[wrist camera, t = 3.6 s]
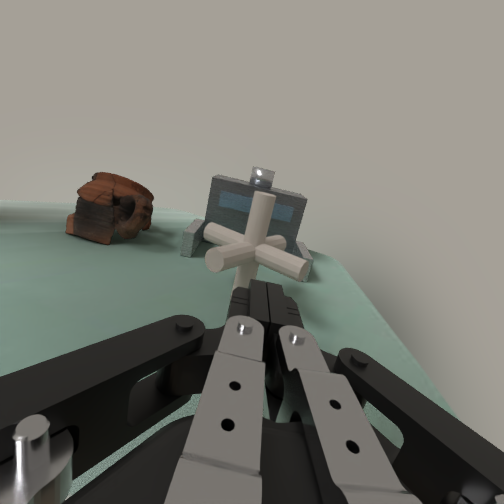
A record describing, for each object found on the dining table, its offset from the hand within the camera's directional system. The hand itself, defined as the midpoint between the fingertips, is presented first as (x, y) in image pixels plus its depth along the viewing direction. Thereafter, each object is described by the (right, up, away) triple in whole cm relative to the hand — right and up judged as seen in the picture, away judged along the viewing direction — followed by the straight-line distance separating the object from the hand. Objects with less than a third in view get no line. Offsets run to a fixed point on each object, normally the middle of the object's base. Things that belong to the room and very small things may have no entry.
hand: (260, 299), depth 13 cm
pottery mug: (-17, +4, +21) cm, 28 cm away
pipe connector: (-2, -2, +13) cm, 13 cm away
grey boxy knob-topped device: (-1, +2, +26) cm, 26 cm away
